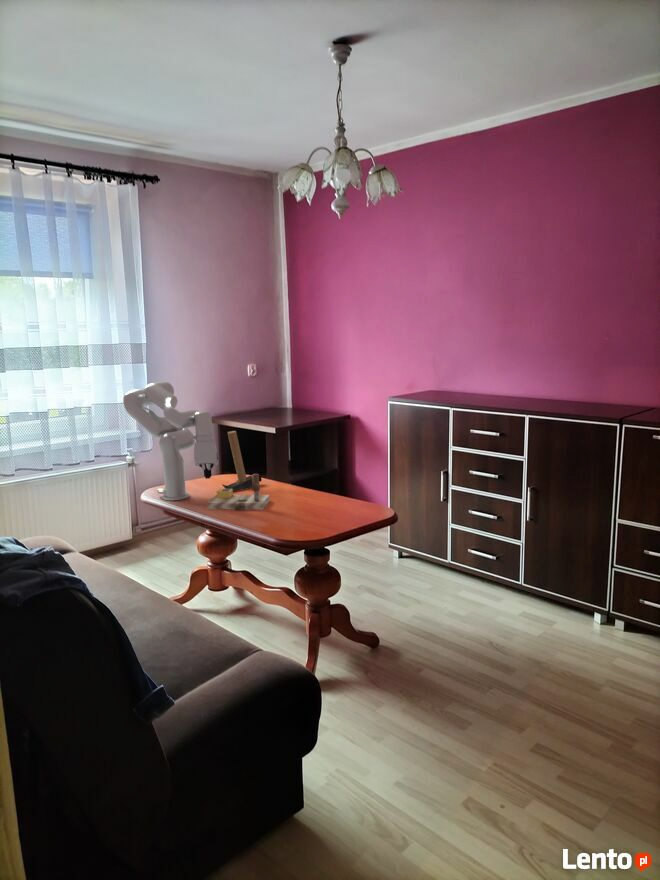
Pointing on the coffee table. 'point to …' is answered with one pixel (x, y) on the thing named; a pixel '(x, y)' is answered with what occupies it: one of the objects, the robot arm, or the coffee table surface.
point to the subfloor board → (239, 502)
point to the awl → (256, 486)
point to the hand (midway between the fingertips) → (208, 477)
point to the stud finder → (224, 493)
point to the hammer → (238, 466)
